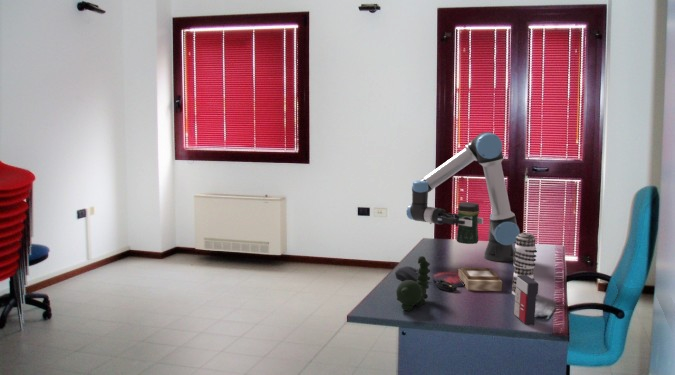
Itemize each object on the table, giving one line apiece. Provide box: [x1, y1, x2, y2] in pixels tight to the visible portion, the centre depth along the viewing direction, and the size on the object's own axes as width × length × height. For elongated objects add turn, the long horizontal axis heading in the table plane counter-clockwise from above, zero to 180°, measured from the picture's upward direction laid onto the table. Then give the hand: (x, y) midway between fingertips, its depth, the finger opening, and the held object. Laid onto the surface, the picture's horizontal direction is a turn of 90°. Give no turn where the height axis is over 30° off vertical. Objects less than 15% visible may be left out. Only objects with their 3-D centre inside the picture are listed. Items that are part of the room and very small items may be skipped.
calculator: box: [513, 275, 539, 326], centre depth 228 cm, size 11×4×15 cm, turn 5°
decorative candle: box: [511, 232, 538, 296], centre depth 259 cm, size 9×9×25 cm
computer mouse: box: [394, 265, 458, 293], centre depth 273 cm, size 10×32×6 cm, turn 45°
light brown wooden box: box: [457, 267, 503, 292], centre depth 274 cm, size 14×20×5 cm
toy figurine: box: [396, 255, 431, 312], centre depth 241 cm, size 9×19×25 cm
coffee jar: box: [456, 201, 480, 245], centre depth 291 cm, size 10×8×19 cm
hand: (477, 222), depth 288 cm, fingers closed on coffee jar, 8 cm apart
